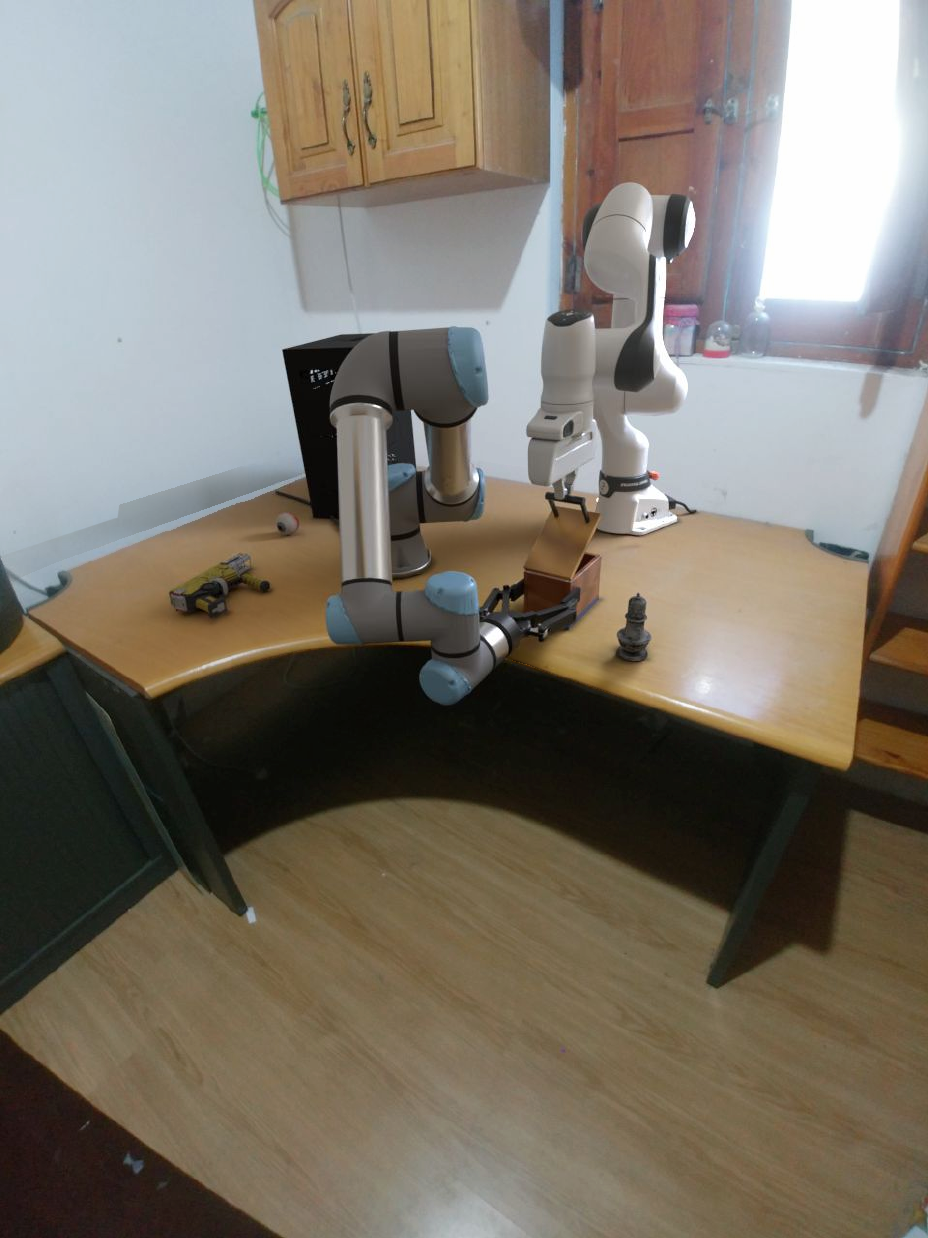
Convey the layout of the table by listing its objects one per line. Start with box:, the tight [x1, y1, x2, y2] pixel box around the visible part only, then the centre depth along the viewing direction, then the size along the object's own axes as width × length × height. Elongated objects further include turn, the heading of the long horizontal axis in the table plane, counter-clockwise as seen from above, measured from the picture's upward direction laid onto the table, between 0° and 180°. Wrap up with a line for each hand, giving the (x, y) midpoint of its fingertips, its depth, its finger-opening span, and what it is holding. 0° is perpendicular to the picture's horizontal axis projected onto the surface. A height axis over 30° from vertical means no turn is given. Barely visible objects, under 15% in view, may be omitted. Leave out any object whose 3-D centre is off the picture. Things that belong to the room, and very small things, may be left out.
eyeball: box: [275, 511, 300, 536], centre depth 163 cm, size 6×6×6 cm
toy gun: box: [168, 552, 271, 619], centre depth 134 cm, size 5×24×15 cm
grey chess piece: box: [616, 592, 652, 662], centre depth 103 cm, size 6×6×12 cm
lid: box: [522, 491, 601, 581], centre depth 111 cm, size 15×10×8 cm
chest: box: [523, 551, 602, 631], centre depth 119 cm, size 14×10×10 cm
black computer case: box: [281, 332, 418, 519], centre depth 178 cm, size 38×20×45 cm, turn 167°
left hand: (553, 587), depth 116 cm, fingers closed on chest, 10 cm apart
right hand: (564, 495), depth 109 cm, fingers closed
